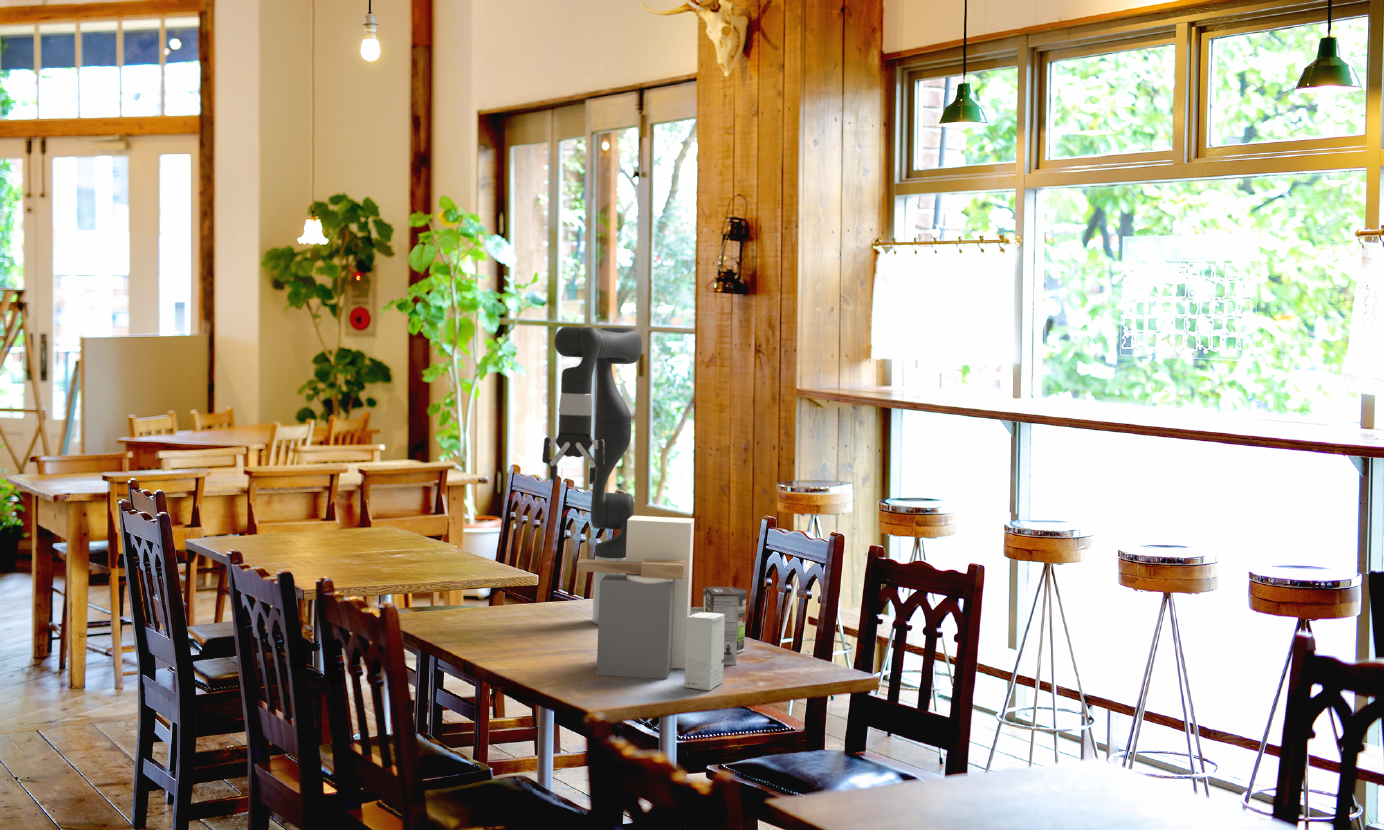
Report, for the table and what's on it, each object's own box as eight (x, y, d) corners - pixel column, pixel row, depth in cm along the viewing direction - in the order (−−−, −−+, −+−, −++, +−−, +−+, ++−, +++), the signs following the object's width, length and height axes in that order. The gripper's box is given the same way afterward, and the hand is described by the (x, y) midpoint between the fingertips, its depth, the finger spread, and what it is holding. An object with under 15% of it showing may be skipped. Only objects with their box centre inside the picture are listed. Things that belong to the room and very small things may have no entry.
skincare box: (709, 691, 266) (712, 619, 266) (682, 687, 268) (685, 615, 268) (724, 682, 274) (726, 612, 274) (697, 679, 276) (700, 609, 276)
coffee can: (750, 647, 310) (752, 588, 310) (736, 656, 300) (738, 595, 300) (709, 642, 314) (711, 584, 313) (694, 651, 304) (696, 590, 303)
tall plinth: (626, 656, 296) (632, 515, 295) (688, 659, 295) (694, 518, 293) (621, 664, 287) (627, 519, 286) (685, 668, 286) (691, 523, 285)
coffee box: (702, 655, 299) (705, 586, 298) (729, 656, 300) (732, 586, 300) (709, 665, 290) (712, 593, 289) (737, 665, 291) (740, 593, 290)
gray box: (603, 664, 286) (606, 569, 286) (671, 668, 285) (675, 572, 285) (596, 674, 277) (600, 576, 276) (666, 678, 275) (670, 580, 275)
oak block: (580, 569, 285) (581, 555, 285) (685, 574, 283) (686, 560, 283) (575, 574, 278) (575, 560, 278) (683, 579, 276) (683, 565, 276)
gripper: (608, 414, 305) (605, 483, 306) (548, 411, 306) (545, 480, 307) (603, 415, 298) (600, 485, 298) (541, 412, 299) (539, 482, 299)
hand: (572, 482), depth 302 cm, fingers open, 8 cm apart
